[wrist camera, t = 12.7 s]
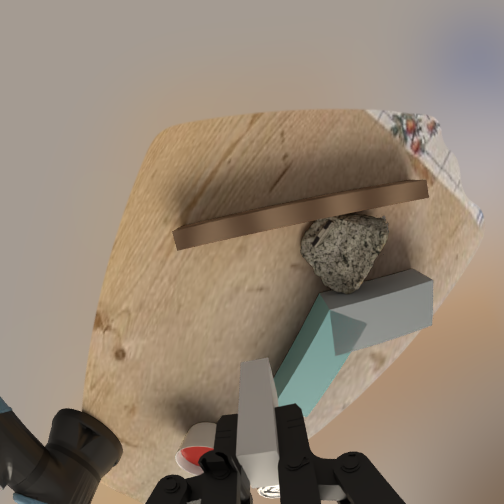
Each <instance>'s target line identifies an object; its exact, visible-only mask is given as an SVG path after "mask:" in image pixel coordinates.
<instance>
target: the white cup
mask: <svg viewBox="0 0 504 504" xmlns="http://www.w3.org/2000/svg"><path fill="white" fill-rule="evenodd" d="M216 425H217V424H215V423H210V422H202V423H197V424H195V425H193V426H192V427H191V428H190V429H189V431H188V432H187V434H186V436H185V438H184V440H183V442H182V444H181V445H180V447H179V449H178V451H177V453H176V456H175V459H176V462H177V464H178V465H179V466H180V467H181V468H182V469H184V470H185V471H187V472H189V473H191V474H193V475H196V476H198V475H200V474H202V473H204V471H203V470H202V468H201V467H200V465H199V464H198V461H199V458H200V457H201V456H202V455H203V454H204V453H206V452H208V451H211V450H213V448H214V440H215V433H216Z"/></svg>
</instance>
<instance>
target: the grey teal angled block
mask: <svg viewBox="0 0 504 504" xmlns="http://www.w3.org/2000/svg"><path fill="white" fill-rule="evenodd" d="M432 316H433V280H432V279H430V278H429V277H427V276H425V275H423V274H422V273H420V272H418V271H416V270H415V269H410V270H406V271H403V272H399V273H396V274H392V275H388V276H385V277H381V278H377V279H374V280H370V281H366V282H363V283H362V284H361V286H360V287H359V289H358V290H355V291H354V292H353V293H350V294H344V293H341V292H336V291H335V290H330V292H329V291H326V292H322V293H319V295H318V297H317V299H316V301H315V303H314V305H313V307H312V309H311V311H310V313H309V315H308V316H307V318H306V320H305V322H304V324H303V326H302V328H301V330H300V332H299V334H298V335H297V337H296V339H295V341H294V343H293V345H292V346H291V348H290V350H289V352H288V354H287V355H286V357H285V359H284V361H283V363H282V364H281V366H280V368H279V370H278V371H277V373H276V375H275V377H274V378H273V379H274V383H275V387H276V391H277V397H278V406H284V405H289V404H294V403H296V404H297V405H298V406H299V407H300V408H301V409H302V413H303V416H305V417H307V416H308V415H309V414H310V412H311V411H312V409H313V408H314V407H315V405H316V404H317V403H318V401H319V400H320V398H321V397H322V395H323V394H324V393H325V391H326V390H327V388H328V387H329V385H330V384H331V382H332V381H333V379H334V378H335V376H336V375H337V373H338V372H339V370H340V369H341V367H342V365H343V364H344V362H345V361H346V359H347V357H348V356H349V354H350V353H351V352H353V351H356V350H360V349H363V348H366V347H370V346H373V345H376V344H379V343H383V342H386V341H389V340H392V339H395V338H398V337H401V336H404V335H406V334H409V333H412V332H415V331H418V330H420V329H423V328H426V327H428V326H431V325H432Z"/></svg>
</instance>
